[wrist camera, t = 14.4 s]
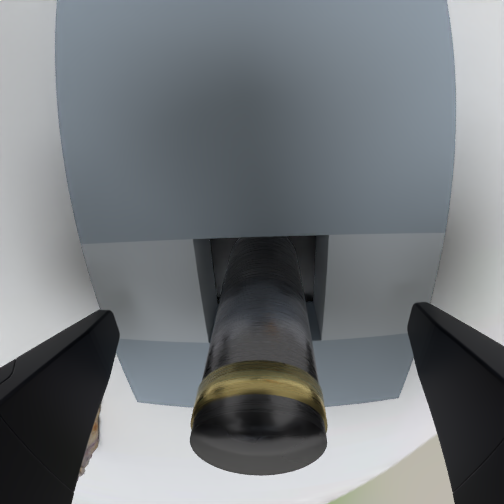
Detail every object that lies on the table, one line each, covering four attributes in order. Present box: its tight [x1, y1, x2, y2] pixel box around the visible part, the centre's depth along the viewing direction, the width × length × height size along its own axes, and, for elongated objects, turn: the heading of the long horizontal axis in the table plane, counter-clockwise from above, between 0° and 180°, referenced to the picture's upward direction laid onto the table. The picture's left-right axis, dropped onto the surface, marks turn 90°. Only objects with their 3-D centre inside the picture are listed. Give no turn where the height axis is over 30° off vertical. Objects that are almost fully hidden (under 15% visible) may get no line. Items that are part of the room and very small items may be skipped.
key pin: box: [190, 236, 327, 475], centre depth 9 cm, size 3×3×8 cm
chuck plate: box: [55, 0, 456, 407], centre depth 8 cm, size 12×26×2 cm, turn 3°
